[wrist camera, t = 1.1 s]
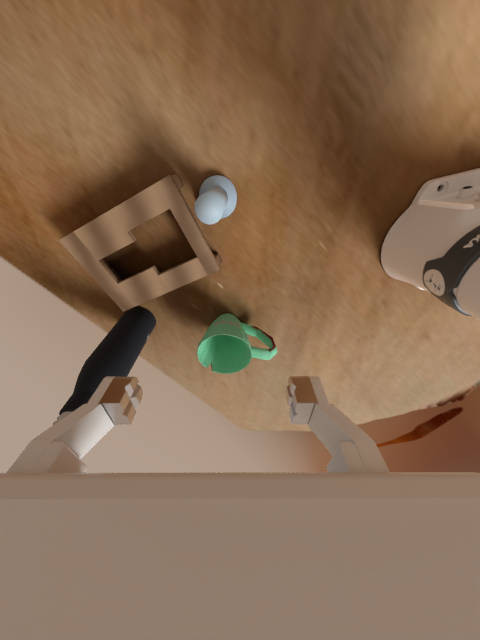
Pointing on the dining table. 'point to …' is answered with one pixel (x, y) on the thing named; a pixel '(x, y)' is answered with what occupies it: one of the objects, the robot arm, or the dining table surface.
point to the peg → (215, 199)
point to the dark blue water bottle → (112, 356)
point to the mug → (232, 345)
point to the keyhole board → (115, 234)
